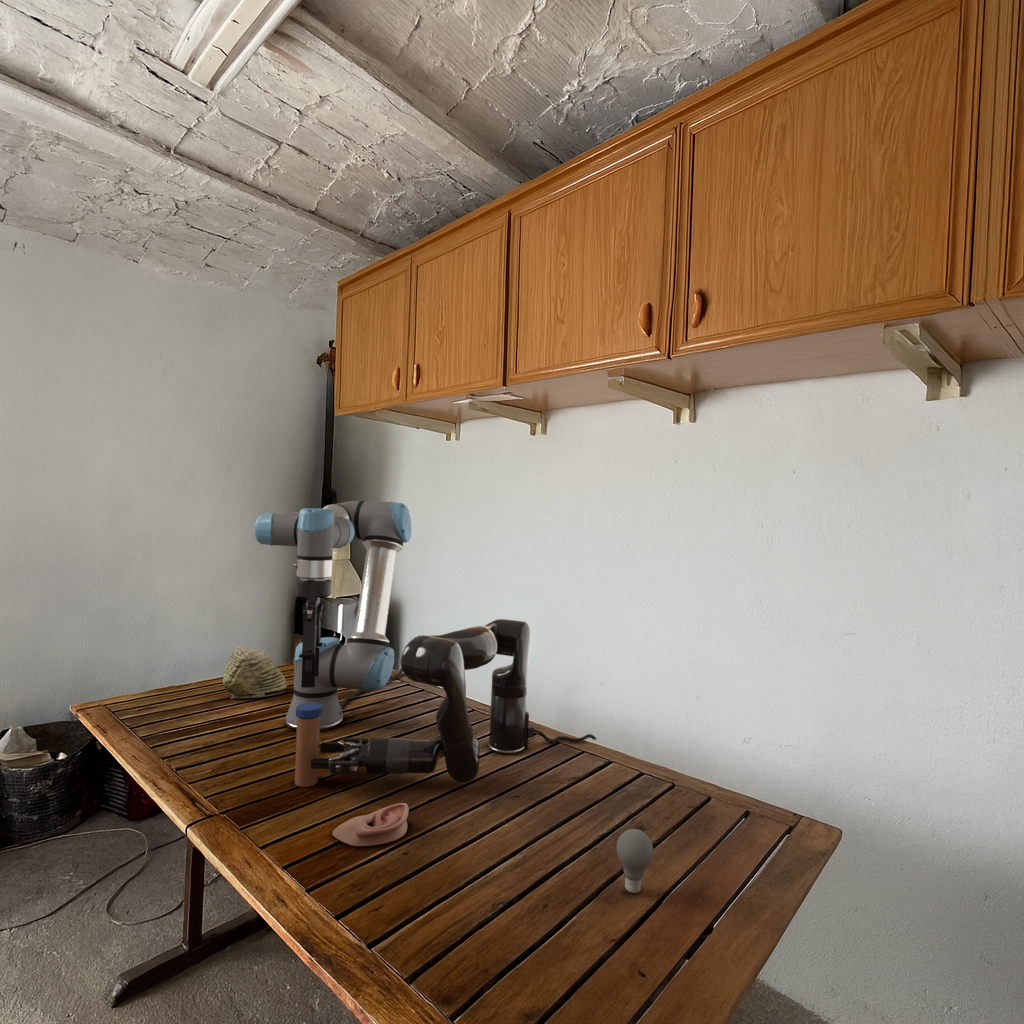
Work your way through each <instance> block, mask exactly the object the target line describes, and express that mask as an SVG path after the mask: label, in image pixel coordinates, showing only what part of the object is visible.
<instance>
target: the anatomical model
mask: <svg viewBox="0 0 1024 1024" xmlns="http://www.w3.org/2000/svg"><path fill="white" fill-rule="evenodd" d="M409 810H410V809H409V805H408V803H406V802H399V803H395V804H391V805H387V806H384V807H382V808H380V809H377V810H375V811H373V812H370V813H368V814H365V815H359V816H355V817H352V818H350V819H347V820H346V821H343V822H342V823H340V824H339V825H338V826H336V828H334V829H333V830H332V836H333V837H334V838H335V839H336V840H338V841H341V842H342V843H344V844H346V845H349V846H352V847H369V846H379V845H383V844H387V843H391V842H394V841H396V840H399V839H400V838H402V837H404V835H406V833H407V831H408V822H407V820H408V817H409Z"/></svg>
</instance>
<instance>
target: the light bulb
mask: <svg viewBox="0 0 1024 1024" xmlns="http://www.w3.org/2000/svg"><path fill="white" fill-rule="evenodd" d="M615 849H616V854H617V857H618V859H619V861H620V863H621V865H622V867H623V873H624V874H623V875H624V876H625V878H624V888H625V890H627V891H628V892H630V893H634V894H635V893H639V892H640V891H641V889H642V887H641V886H642V879H643V877H644V875H645V871H646V868H647V867H648V866H649V864H650V863H651V861H652V859H653V855H654V847H653V843H652V841H651V838H649V836H648V835H647V834H646V833H645V832H643V831H642V830H641V829H636V828H629V829H627V830H625V831H623V832H622V833H621V834H620V835H619V837H618V839H617V841H616V847H615Z"/></svg>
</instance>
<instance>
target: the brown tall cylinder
mask: <svg viewBox="0 0 1024 1024" xmlns="http://www.w3.org/2000/svg"><path fill="white" fill-rule="evenodd" d="M320 737H321V731H320V716H319V717H316V718H312V719H301V718H298V717H297V731H296V733H295V739H296V740H295V758H294V759H295V761H294V785H295V786H296V787H301V788H306V787H308V788H309V787H312V786H314V785H316V784H317V783H318V782H319V769H312V768H311V759H312V758H313V757H320Z"/></svg>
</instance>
